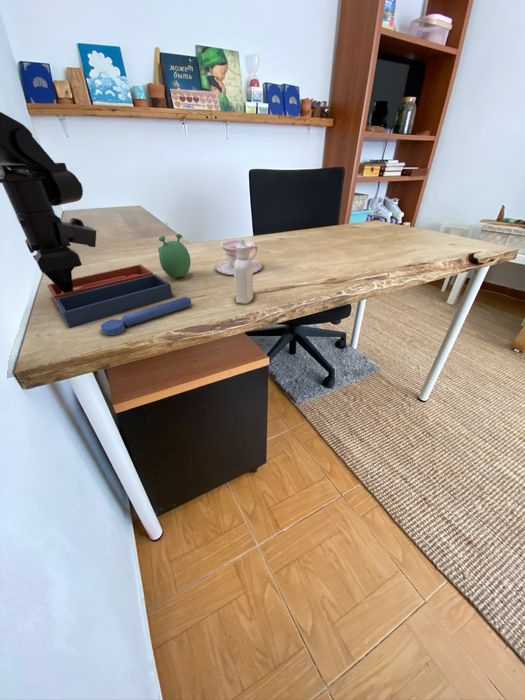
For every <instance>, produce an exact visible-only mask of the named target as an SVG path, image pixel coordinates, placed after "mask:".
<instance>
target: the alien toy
mask: <svg viewBox="0 0 525 700" xmlns="http://www.w3.org/2000/svg"><path fill="white" fill-rule="evenodd" d="M175 237H176V238H177V239H176V240H168V241H165V240H166V236H165V235H160V236H159V238H158V241H159V242H162V243H163V244H162V246H159V247H158V248H157V251H158V257H159V259H158V260H159V263H160V266H161V269H162V270H163V272H164V273H165V274H166V275H167V276H169V277H171V278H173V279H179V278H183V277H185V276H186V275H187V274H188V273H189V270H190V269H191V256H190V253H189V251H188V249H187V247H186V246H185V245H184V244H183V243H182V242H181V241H180V239H182V238H183V235H182V234H181V233H176V234H175Z"/></svg>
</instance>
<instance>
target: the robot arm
mask: <svg viewBox="0 0 525 700" xmlns="http://www.w3.org/2000/svg"><path fill="white" fill-rule="evenodd" d="M0 184H2V187H3V189H4V191H5V193H6V195H7V198H8V200H9V202H10V204H11V207H12V209H13V211H14V213H15V216H16V219H17V221H18V223H19V225H20V227H21V229H22V231H23V234H24V236H25V238H26V239H25V244H26V247H27V248H28V251H29V253H30V254H34V253H35V252H36V254H34V255H32V257H33V259H34V260H35V262H36V263H37V266H38V268H39V270H40V271H41V273H42V274H44V275H45V277H47V278H48V279H49V280H50V281H51V282H52V284H53V283H54V284H55V285H56V286H57V287H58V288H59V289H60V290H61V291H62V292H63V293H66V292H70V291H73V283H72V279H73V276H72V272H73V270H74V268H78V267H81V266H82V265H83V263H82V261H81V258H80V255H79V254H78V253H77V252H76V251H75V250H74V249H72V248H70V246H71V245H72V244H77V245H85V246H87V247H90V248H96V247H97V230H96V229H95V228H93V227H91V226H88V225H87V226H86V225H84V222H83V221H82V220H81V219H80V218H75V217H71V218H70V220H69V222H68V221H65V222H64V221H62V219H61V218H60V216H58V215H57V214H56V213H55V210H54V207H56V206H61V205H62V206H63V205H66V204H67V205H68V204H71V203H75V202H79V201H80V200H81V199H83V195H84V190H83V189H84V188H83V185H82V182H81V181H79V179H78V177H77V176H76V175H75V174H74V173H73V172H72V171H70V170H69V169H68V168H67V165H66V163H65V162H55V161H54V159H52V157H51V156H50V154H48V152H46V151H45V149H44V148H43V147H42V146H41V144H40V143H39V142H38V141H37V139H36V138H35V137H34V135H33V133H32V132H31V130H30V129H29V128H27V126H25V125H24V123H21V122H20V121H18V120H16V119H14V118H13V117H11V116H9V115H8V114H5V113H3V112H1V111H0ZM71 243H72V244H71Z"/></svg>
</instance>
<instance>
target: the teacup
mask: <svg viewBox="0 0 525 700" xmlns="http://www.w3.org/2000/svg"><path fill="white" fill-rule="evenodd" d="M244 242H245V244H246V245H248V246H249V254H251V251H253V250H255V251H254V254H253V256H252V257H250V259H251V260H252V269H253V274H255V273H258V272H259V271H260V270H262V268H263V264H262V263H261V262H259V260H255V257H256V256H257V254H258V246H254V245H255V242H254V241H251V240H246V239H244ZM239 243H240V239H234V240H232V239H231V240H226V241H223V242H221V243H220V244H219V245H220V247H221V248H222V249H223V250H224V251H225V255H226V256H227V259H226V260H223V261H220V262H219V263H217V264H216V265H215V270H216V271H217V272H218V273H221V274H223V275H227V276H228V275H229V276H234V262H235V260H236V259H237V257H236V246H237V245H239Z"/></svg>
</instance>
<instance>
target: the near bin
mask: <svg viewBox="0 0 525 700" xmlns="http://www.w3.org/2000/svg"><path fill="white" fill-rule="evenodd" d="M170 298H174V297H173V293H172V287H171V284H170V283H169V282H168V281H166V280H164V279H163V278H161V277H160V276H159V275H157V274H156V273H153V275H150V276H146V277H142V278H138V279H133V280H129V281H125V282H121V283H117V284H113V285H109V286H105V287H101V288H97V289H93V290H89V291H84V292H80V293H76V294H72V295H68V296H64V297H60V298H56V299H55V300H56V302H57V304H58V306H57V308H58V307H59V308H58V309H59V311H60V314H61V315H62V317H63V319H64V320H65V322H66V324H67V326H68V328H73V327H76V326H80V325H84V324H86V323H90V322H93V321H97V320H100V319H103V318H107V317H110V316H113V315H117V314H121V313H123V312H126V311H130V310H133V309H136V308H137V309H138V308H140V307H144V306H147V305H150V304H154V303H157V302H161V301H163V300H167V299H170ZM55 300H54V301H55ZM56 302H55V303H56ZM57 304H56V305H57Z"/></svg>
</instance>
